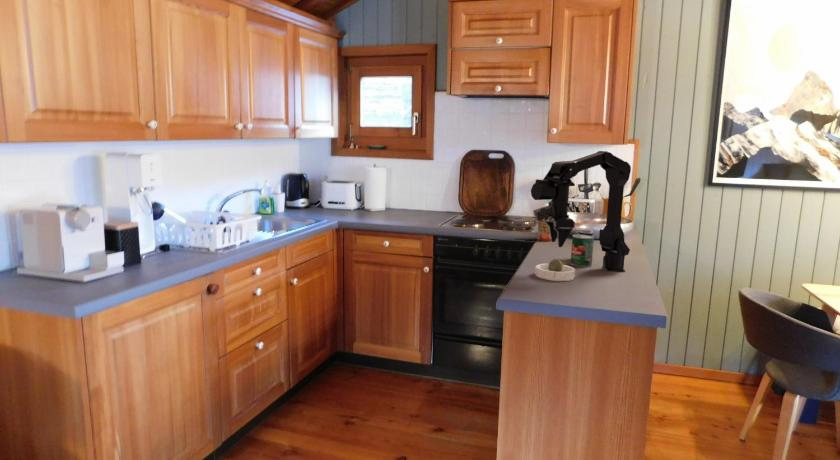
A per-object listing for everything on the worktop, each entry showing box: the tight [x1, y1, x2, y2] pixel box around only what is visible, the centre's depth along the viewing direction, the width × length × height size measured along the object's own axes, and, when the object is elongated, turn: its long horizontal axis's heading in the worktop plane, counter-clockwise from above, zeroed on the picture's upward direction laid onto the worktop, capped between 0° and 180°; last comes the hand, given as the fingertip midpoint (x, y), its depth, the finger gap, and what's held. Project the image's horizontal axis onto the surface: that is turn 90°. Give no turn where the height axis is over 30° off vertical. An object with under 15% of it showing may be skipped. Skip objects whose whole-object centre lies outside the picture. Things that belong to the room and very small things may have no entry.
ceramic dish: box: [534, 263, 576, 282], centre depth 199 cm, size 13×13×3 cm
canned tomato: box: [570, 233, 595, 268], centre depth 218 cm, size 8×8×11 cm
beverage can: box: [577, 227, 594, 237], centre depth 228 cm, size 6×6×12 cm
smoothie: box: [537, 200, 552, 242], centre depth 267 cm, size 8×8×20 cm
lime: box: [548, 258, 564, 272], centre depth 198 cm, size 4×5×5 cm
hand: (556, 244), depth 199 cm, fingers open, 9 cm apart
